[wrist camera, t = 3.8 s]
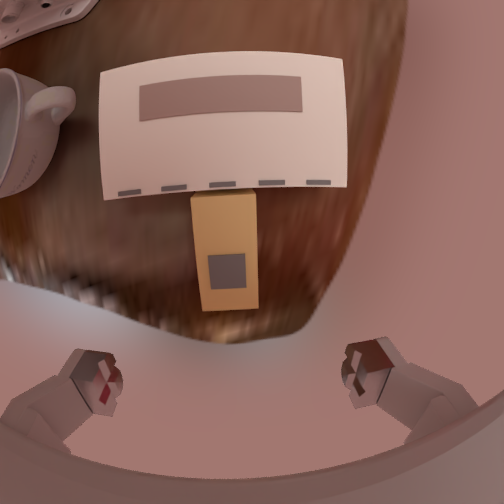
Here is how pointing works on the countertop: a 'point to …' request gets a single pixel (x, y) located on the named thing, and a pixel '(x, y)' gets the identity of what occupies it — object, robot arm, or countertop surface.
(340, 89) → the ticket block
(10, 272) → the countertop surface
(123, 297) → the countertop surface
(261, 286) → the countertop surface
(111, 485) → the robot arm
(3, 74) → the teacup
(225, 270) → the stub
